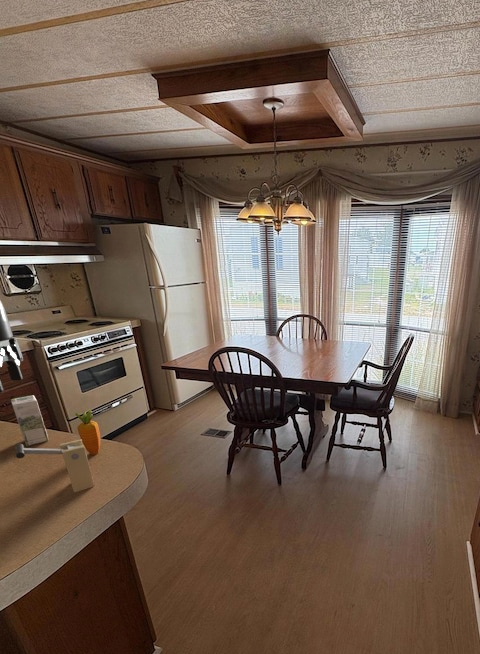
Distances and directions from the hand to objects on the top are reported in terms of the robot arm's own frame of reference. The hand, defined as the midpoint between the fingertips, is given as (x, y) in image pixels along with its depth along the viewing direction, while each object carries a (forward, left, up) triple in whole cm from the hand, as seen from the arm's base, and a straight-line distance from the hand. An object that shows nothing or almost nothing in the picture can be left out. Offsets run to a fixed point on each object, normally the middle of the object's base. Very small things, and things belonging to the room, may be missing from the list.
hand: (7, 385), depth 83 cm
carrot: (+14, +1, -26) cm, 29 cm away
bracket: (+9, -15, -26) cm, 31 cm away
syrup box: (+1, +22, -26) cm, 34 cm away
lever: (+4, -15, -14) cm, 21 cm away
